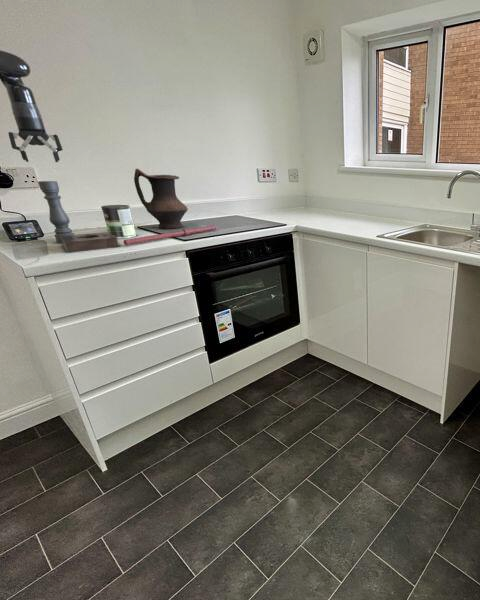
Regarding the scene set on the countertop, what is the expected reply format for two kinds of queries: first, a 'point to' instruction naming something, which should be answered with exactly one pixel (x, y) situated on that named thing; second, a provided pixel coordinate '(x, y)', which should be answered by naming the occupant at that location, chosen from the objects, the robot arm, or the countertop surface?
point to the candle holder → (55, 209)
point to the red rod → (168, 235)
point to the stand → (89, 241)
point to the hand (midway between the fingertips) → (42, 161)
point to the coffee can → (119, 221)
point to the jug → (162, 200)
